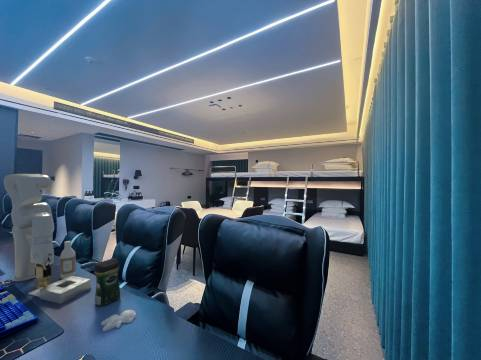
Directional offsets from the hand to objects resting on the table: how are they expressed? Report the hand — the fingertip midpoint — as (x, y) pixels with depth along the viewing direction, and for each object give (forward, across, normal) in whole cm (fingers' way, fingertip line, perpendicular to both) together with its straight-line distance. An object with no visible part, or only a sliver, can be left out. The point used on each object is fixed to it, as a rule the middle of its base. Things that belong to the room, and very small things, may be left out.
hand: (43, 275), depth 105 cm
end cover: (+5, 0, 0) cm, 5 cm away
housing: (+8, +13, +2) cm, 15 cm away
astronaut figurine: (+9, +54, -6) cm, 55 cm away
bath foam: (+8, -5, +15) cm, 18 cm away
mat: (+8, 0, 0) cm, 8 cm away
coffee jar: (+8, +38, +3) cm, 39 cm away
